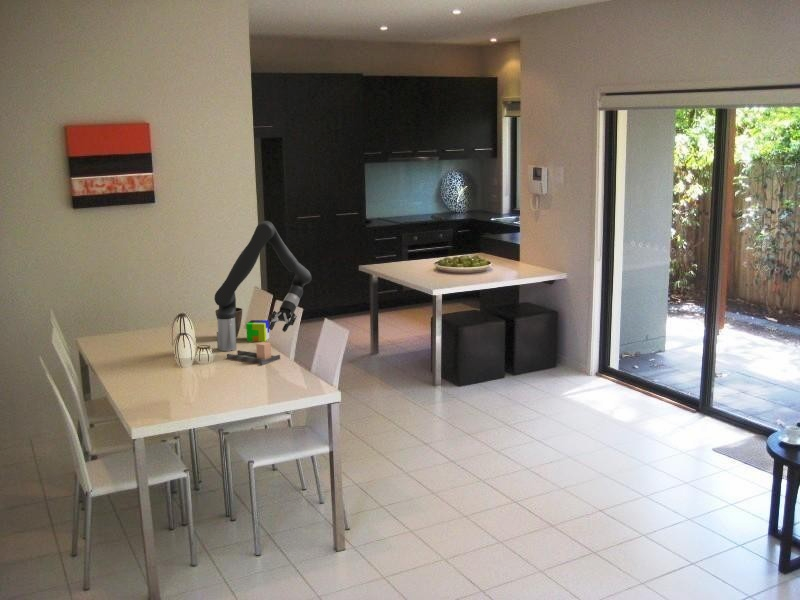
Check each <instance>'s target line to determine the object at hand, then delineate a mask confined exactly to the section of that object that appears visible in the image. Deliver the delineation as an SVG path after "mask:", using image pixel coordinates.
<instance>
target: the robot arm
mask: <svg viewBox="0 0 800 600" xmlns="http://www.w3.org/2000/svg"><path fill="white" fill-rule="evenodd" d="M268 243H269V245H271V246H272V248H273V250H274V251H275V253H276V255H277V257H278V258H279V260H280V262H281V263H282V265H283V266H284V267H285V269H287V271H288V272H289V273H294V274H295V275H294V277H293V279H292V282H291V286H290V288H289V290H288V292H287V294H286V296H285V297H284V299H283V301H282V303H281V304H280V307H279V310H278V311H276V310H273V311H272V313H271V315H270V317H269V318H268V320H269V331H273V329H274V327H275V325H276V324H277V323H280V322H285V323H284V325H283V327H282V330H281V331H282V332H284V333H285V332H287V330H288V329H289V327H291V326H293V325H294V324H295V322H296V320H297V317H298V316H297V314H296V313H295V311H296V309H297V308H298V305H299V303H300V300H301V299H302V297H303V295H304V294H303V293H304V286H305V285H308V284H310V282H311V281H312V277H313V276H312V274H311V272H310V270H308V269H307V267H305V266H304V265H303V264H302V263H301V262H299V260H298V259H297V258H296V257H295V255H294V254H293V253H292V252H291V251H290V249H289V248H288V246H287V245H286V244H285V242H284V241H283V239H282V237H281V236H280V234H279V233H278V230H277V228H276V227H275V225H274V224H273V223H272V222H271V221H270V220H263V221H261V222H259V224H257V226H256V228H255V230H254V233H253V235H252V236H251V239H250V240H249V242H248V244H247V245H246V246H245V247H244V249H243V250H242V251H241V252H240V254H239V256H238V257H237V259H236V260H235V261H234V264H233V266H232V267H231V270H230V271H229V273H228V274H227V276H226V279H225V280H224V282H223V283H222V284H221V285H220V287H219V288H218V290H216V292H215V294H214V302H215V304H216V305H217V306H218V309H219V310H218V313H217V317H216V320H218V321H217V331H216V342H217V343H216V344H217V350H219V351H221V352H231V350H232V351H235V350H237V349H238V347H237V338H236V325H235V312H236V308H237V305H236V303H237V300H236V299H237V298H236V291H237V290H238V287H240V285H241V284H242V283H243V282H244V280H246V278H247V277H248V276H249V274H250V273H251V271H252V270H253V268H254V267H255V265H256V263H257V261H258V259H259V256H260V253H261V251H262V250H263V248H264V247H265V245H266V244H268Z"/></svg>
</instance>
